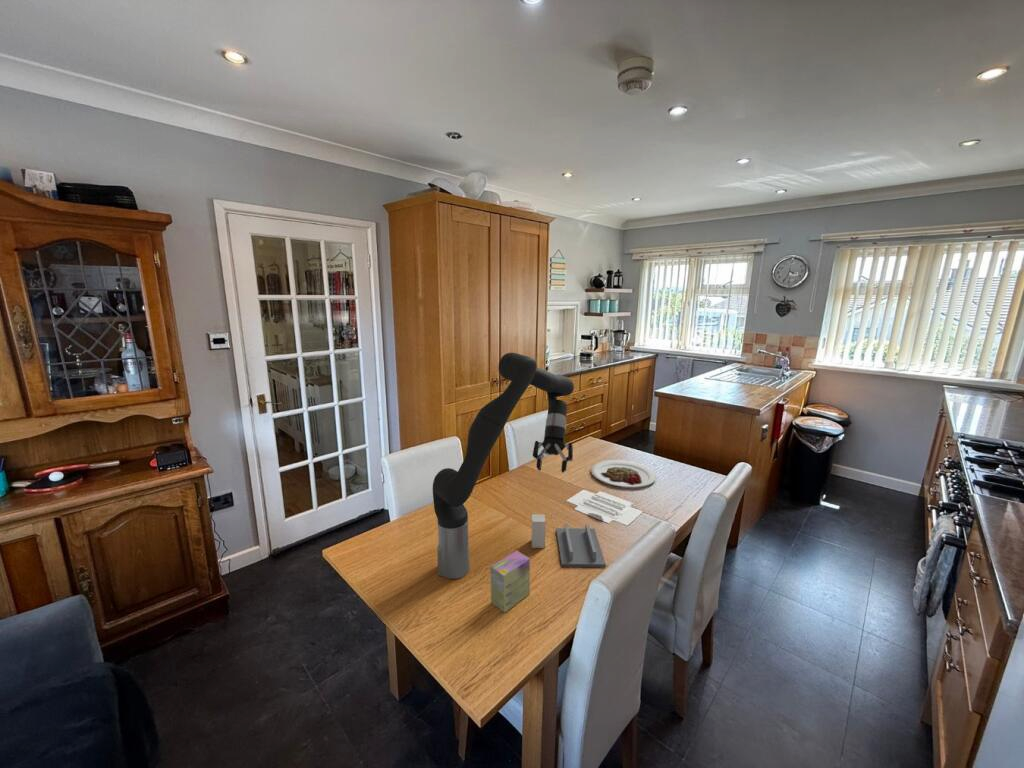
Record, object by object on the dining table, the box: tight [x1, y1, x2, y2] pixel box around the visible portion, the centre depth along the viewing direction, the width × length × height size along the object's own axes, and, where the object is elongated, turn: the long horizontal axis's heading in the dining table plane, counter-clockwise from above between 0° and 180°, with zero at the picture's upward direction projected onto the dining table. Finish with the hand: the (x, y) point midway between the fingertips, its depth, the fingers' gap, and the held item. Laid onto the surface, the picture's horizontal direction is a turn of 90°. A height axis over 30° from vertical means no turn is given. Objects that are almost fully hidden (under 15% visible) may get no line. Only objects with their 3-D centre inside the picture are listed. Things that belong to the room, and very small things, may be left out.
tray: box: [566, 489, 644, 527], centre depth 165 cm, size 20×28×4 cm
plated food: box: [590, 459, 657, 489], centre depth 193 cm, size 30×30×3 cm
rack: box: [555, 523, 607, 568], centre depth 138 cm, size 14×20×4 cm
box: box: [489, 550, 531, 613], centre depth 114 cm, size 10×6×12 cm, turn 135°
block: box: [531, 513, 546, 549], centre depth 139 cm, size 4×4×10 cm
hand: (550, 471), depth 143 cm, fingers open, 8 cm apart
